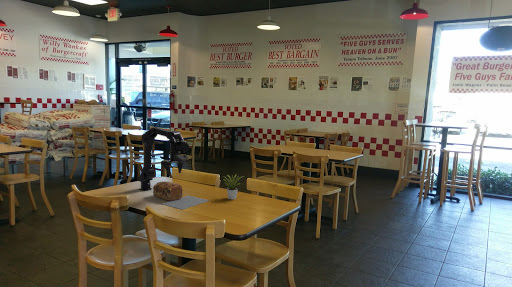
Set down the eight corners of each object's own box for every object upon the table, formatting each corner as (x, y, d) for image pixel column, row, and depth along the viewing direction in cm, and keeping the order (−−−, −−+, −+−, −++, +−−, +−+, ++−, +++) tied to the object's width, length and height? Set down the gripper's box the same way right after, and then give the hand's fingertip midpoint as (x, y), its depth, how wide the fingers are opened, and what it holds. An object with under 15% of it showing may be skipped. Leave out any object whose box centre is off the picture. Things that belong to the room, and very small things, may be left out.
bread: (183, 198, 231) (183, 183, 230) (169, 202, 223) (169, 186, 222) (166, 193, 244) (166, 178, 242) (152, 196, 236) (152, 181, 234)
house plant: (241, 194, 247) (242, 171, 245) (247, 200, 234) (247, 175, 232) (220, 195, 243) (221, 171, 241) (225, 201, 230) (226, 176, 228)
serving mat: (160, 204, 220) (160, 203, 220) (188, 196, 240) (188, 195, 240) (182, 210, 210) (182, 209, 210) (209, 201, 230) (209, 200, 230)
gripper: (172, 153, 221) (172, 178, 223) (193, 150, 237) (193, 173, 239) (160, 151, 227) (160, 176, 229) (181, 148, 243) (181, 171, 245)
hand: (174, 174), depth 235 cm, fingers open, 9 cm apart
